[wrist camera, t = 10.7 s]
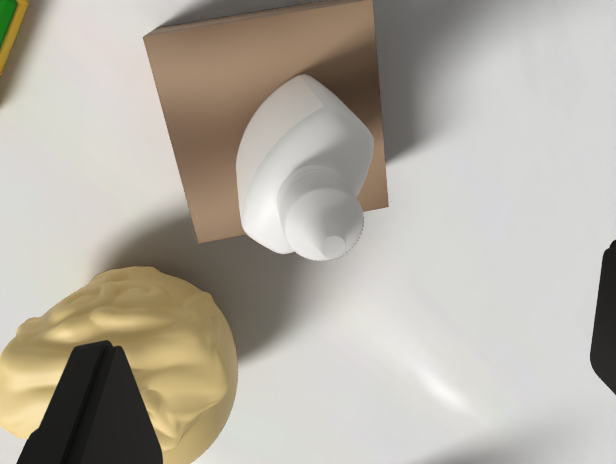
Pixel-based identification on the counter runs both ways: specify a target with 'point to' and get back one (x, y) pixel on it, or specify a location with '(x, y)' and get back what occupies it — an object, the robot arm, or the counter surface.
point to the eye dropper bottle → (303, 172)
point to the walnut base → (259, 92)
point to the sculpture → (132, 356)
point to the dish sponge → (10, 25)
